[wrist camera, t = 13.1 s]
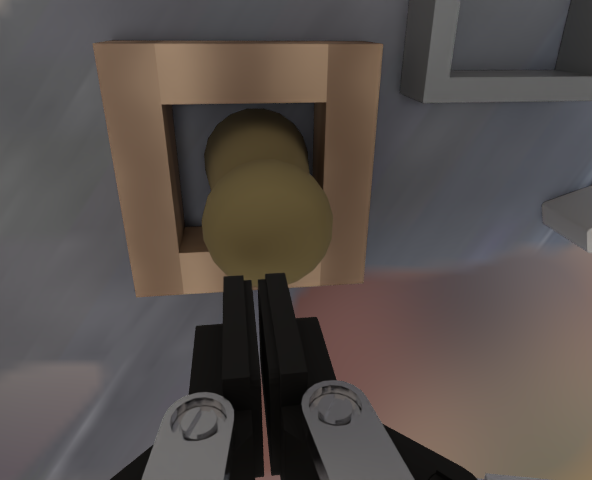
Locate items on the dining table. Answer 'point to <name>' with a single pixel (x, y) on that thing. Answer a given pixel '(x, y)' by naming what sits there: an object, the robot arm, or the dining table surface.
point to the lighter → (571, 217)
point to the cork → (263, 199)
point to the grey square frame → (490, 83)
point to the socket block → (230, 90)
